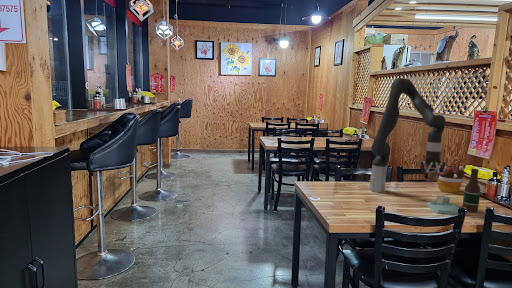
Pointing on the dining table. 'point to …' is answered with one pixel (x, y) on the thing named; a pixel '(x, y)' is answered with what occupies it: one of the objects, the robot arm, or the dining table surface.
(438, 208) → the teal tray
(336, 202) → the dining table surface
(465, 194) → the beer bottle
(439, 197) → the sage block
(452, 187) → the bucket of meat
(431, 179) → the walnut block
